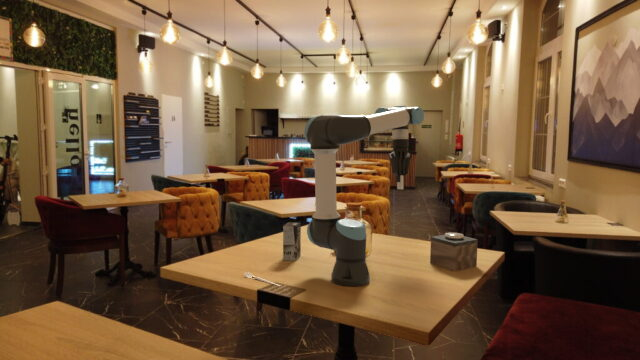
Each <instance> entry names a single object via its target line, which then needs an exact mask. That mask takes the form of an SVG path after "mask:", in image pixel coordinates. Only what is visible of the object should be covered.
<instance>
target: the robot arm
mask: <svg viewBox="0 0 640 360" xmlns="http://www.w3.org/2000/svg"><path fill="white" fill-rule="evenodd" d="M424 119H425V112H424V109H423V108H422V107H421V106H406V105H395V106H393V107H385V106H384V107H383V106H380V107H378V108H377V109H376V110H375V111H374V114H371V115H364V114H356V115H351V114H349V115H347V114H335V115H333V114H332V115H331V114H329V115H323V114H322V115H317V116H312V117H311V118H310V119H308V121H307V122H306V124H305V127H304V131H303V132H304V138H305V140H306V142H307V143H308V144H309V145H310V151H312V153H313V154H314V186H315V187H314V188H315V189H314V191H315V212H314V213H313V214H312V216H311V217H312V219H311V220H309V224H307V228H306V234H307V238H308V239H309V241H310V242H311V243H312V244H313V245H315V246H317V247H319V248H323V249H327V250H330V251H335V263H334V266H333V269H332V272H331V279H330V280H331V282H332V283H333V284H336V285H339V286H344V287H345V286H346V287H359V286H366V285H367V284H369V283H370V281H371V275H370V271H369V268H368V265H367V261H366V260H367V259H366V258H367V257H366V254H367V237H368V236H367V228H366V225H365V223H364V222H362V221H359V220H355V219H350V218H349V219H348V218H343V219H341V218H342V217H341V214H340V213H339V212H338V209H337V163H336V162H337V160H336V159H337V156H336V155H337V152H338V151H339V150H340V146H344V145H348V144H352V143H355V142H359V141H362V140H365V139H368V138H369V137H370V136H371V135H374V134H378V133H382V132H386V131H390V130H392V133H391V134H392V136H391V137H392V144H391V147H392V148H393V149H392V152H391V153H388V158H389V161H390V166H391V171H392V174H393V175H394V176H396V180H395V181H396V183H397V184H396V186H397V187H396V189H397V190H404V183H405V176H407V175H409V174H408V173H409V169H410V163H411V159H412V156H413V155H412V153H409V150H408V149H409V126H411V125H414V126H415V125H420V124H422V123H423V121H424Z"/></svg>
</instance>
